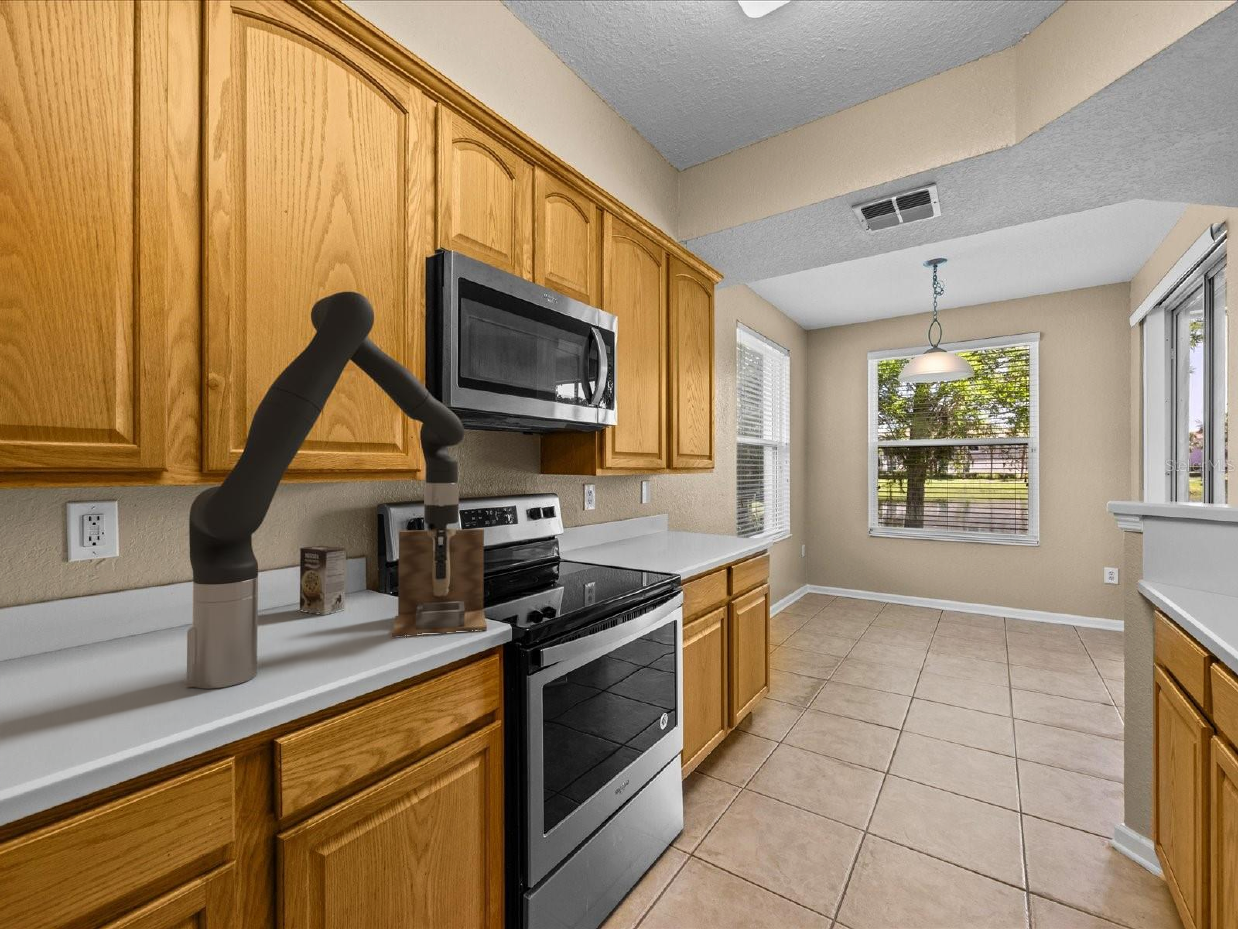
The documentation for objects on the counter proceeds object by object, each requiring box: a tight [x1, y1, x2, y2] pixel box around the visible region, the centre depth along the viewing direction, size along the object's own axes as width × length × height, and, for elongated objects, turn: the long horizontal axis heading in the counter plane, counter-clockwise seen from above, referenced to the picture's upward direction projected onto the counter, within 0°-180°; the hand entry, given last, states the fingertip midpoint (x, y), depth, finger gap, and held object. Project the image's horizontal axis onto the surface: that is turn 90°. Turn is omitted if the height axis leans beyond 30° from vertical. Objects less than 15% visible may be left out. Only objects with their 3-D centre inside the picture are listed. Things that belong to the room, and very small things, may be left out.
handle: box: [427, 527, 457, 596], centre depth 131 cm, size 5×6×15 cm
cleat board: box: [391, 528, 488, 638], centre depth 134 cm, size 20×19×21 cm
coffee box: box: [299, 544, 347, 616], centre depth 144 cm, size 9×6×16 cm
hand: (440, 576), depth 131 cm, fingers closed on handle, 4 cm apart
